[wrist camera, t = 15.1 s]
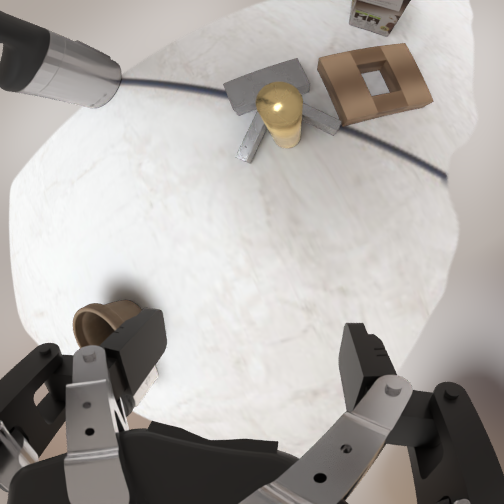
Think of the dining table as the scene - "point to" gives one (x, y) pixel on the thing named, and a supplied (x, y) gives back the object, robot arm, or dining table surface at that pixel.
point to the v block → (244, 101)
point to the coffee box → (377, 14)
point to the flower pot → (101, 321)
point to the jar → (139, 392)
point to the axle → (281, 112)
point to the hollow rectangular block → (356, 92)
